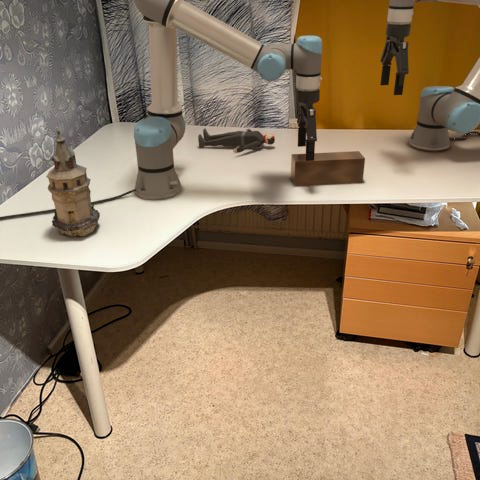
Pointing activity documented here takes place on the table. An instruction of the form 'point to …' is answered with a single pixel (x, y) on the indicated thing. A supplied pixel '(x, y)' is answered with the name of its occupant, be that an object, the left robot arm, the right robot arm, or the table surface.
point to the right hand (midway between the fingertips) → (390, 89)
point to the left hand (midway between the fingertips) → (305, 153)
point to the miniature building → (70, 193)
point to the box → (327, 168)
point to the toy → (236, 139)
